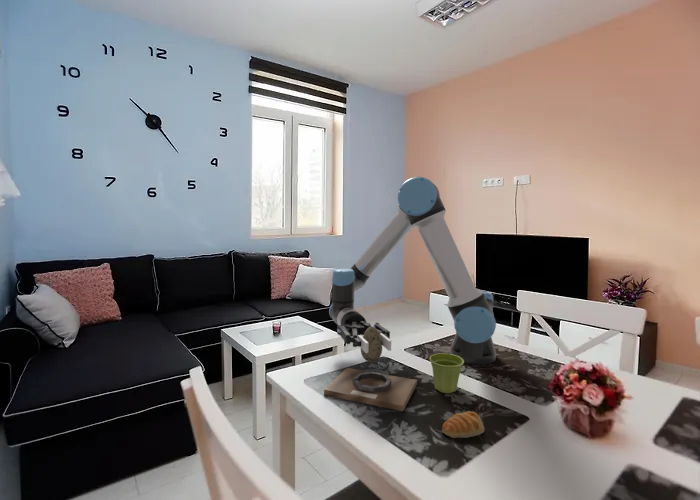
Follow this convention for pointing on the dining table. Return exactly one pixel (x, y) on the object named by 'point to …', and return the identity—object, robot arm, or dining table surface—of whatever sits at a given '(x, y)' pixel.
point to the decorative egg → (372, 345)
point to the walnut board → (390, 399)
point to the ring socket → (371, 388)
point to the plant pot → (446, 371)
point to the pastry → (463, 425)
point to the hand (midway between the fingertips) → (378, 346)
